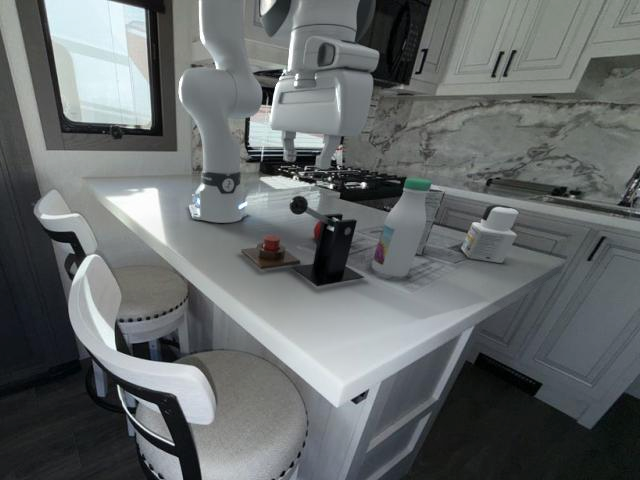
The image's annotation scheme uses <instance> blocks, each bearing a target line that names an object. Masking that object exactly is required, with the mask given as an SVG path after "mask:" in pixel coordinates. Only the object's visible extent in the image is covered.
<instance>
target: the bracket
mask: <svg viewBox="0 0 640 480" xmlns="http://www.w3.org/2000/svg"><path fill="white" fill-rule="evenodd" d="M322 215H323V216H325V217H327V218H329V219H332V218H333V217H334V218H336V219H339V220H338V221H336V222H335V226H334V231H331V230H329V229H327V226H328V224H326V223H324V222H322V221H321V226H320V231H319V236H318V241H317V240H316V246H315V247H316V248H315V251H314V252H315V253H314V256H313V263H309V264H302V265H296V266H292V269H293V270H295V271H296V272H297V273H299V274H300V275H301V276H303V277H304V278H305V279H306V280H308V281H309V282H311V283H312V284H314V285H315V286H316V287H321V286H327V285H332V284H338V283H343V282H348V281H354V280H358V279H364V278H365V276H363V275H362V274H360V273H359V272H357V271H356V270H353V269H351V268H350V267H348V266H347V262H348V258H349V255H350V250H351V247H352V242H353V238H354V235H355V231H356V226H357V223H358V220H357V219H354V218H351V219H350V218H349V219H343V217H344V215H343V214H342V213H331V214H330V213H329V214H322Z"/></svg>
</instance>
